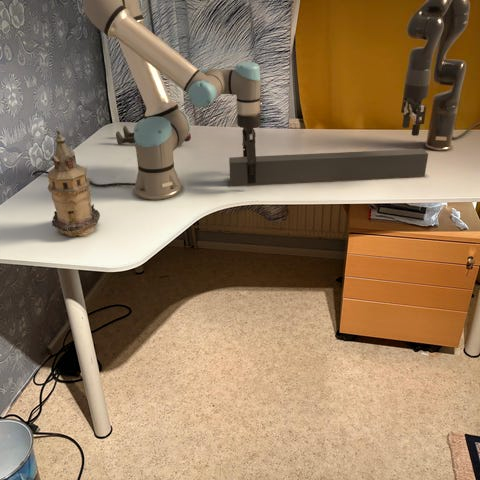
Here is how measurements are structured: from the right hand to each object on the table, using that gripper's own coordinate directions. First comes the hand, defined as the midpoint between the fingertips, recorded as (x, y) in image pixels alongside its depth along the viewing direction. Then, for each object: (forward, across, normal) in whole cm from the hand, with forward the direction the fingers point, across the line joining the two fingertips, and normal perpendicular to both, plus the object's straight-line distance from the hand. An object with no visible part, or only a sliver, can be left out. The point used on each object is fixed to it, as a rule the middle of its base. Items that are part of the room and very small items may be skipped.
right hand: (410, 131), depth 180 cm
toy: (+16, +45, +88) cm, 100 cm away
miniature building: (+16, -28, +107) cm, 112 cm away
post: (+16, 0, +27) cm, 31 cm away
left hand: (+13, 0, +54) cm, 56 cm away
